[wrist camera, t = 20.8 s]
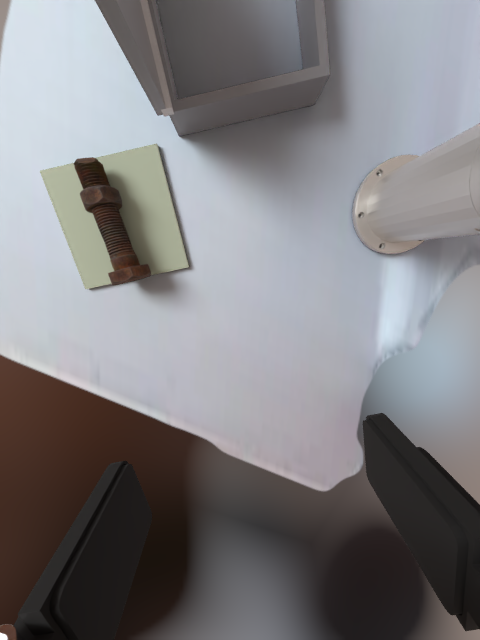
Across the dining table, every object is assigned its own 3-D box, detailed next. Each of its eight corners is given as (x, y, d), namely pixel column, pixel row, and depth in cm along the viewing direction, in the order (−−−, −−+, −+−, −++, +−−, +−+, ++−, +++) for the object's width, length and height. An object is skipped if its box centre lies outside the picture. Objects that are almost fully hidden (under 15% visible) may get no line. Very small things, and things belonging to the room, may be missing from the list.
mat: (158, 145, 30) (156, 143, 30) (189, 267, 34) (188, 267, 34) (43, 172, 31) (39, 170, 30) (88, 288, 35) (85, 289, 34)
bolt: (109, 172, 32) (147, 277, 35) (67, 174, 30) (112, 286, 33) (109, 148, 27) (153, 273, 30) (58, 148, 25) (112, 283, 28)
